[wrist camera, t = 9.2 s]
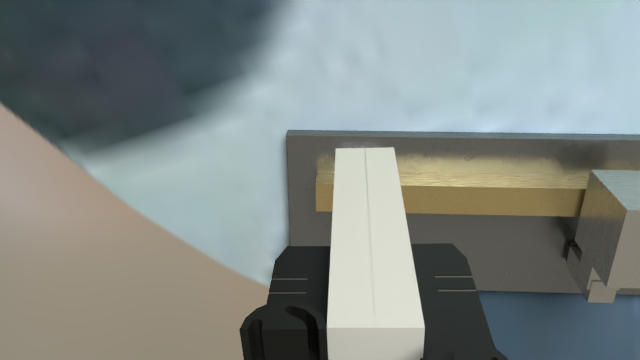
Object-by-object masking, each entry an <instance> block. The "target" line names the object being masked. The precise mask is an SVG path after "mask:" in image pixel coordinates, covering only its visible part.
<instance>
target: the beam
mask: <svg viewBox="0 0 640 360" xmlns="http://www.w3.org/2000/svg"><path fill="white" fill-rule="evenodd" d="M334 173H335V171H317V178H316V211H327V212H333V193H334ZM398 174H399V180H400V185H401V191H402V197H403V203H404V209H405V213H423V214H470V215H518V216H566V217H580V214H581V209H582V205H583V201H584V196H585V192H586V187H587V183H588V179H589V175H541V174H483V173H424V172H398Z"/></svg>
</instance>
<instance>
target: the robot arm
mask: <svg viewBox="0 0 640 360" xmlns="http://www.w3.org/2000/svg"><path fill="white" fill-rule="evenodd" d="M240 335H241V342H242V349H243V356H244V360H508V359H507V358H506V357H505V356H504V355H503V354H502V353H500V352H499V351H498V350H497V349H496V347H495V345H494V343H493V340H492V337H491V333H490V330H489V327H488V324H487V321H486V318H485V314H484V311H483V308H482V305H481V302H480V299H479V295H478V292H476V286H475V283H474V280H473V278H472V273H471V270H470V267H469V264H468V261H467V258H466V257H465V256H464V255H463V254H462V253H461V252H460V251H459V250H458V249H457V248H456V247H455V246H454V245H453V244H452V243H436V244H410V238H409V232H408V226H407V220H406V214H405V209H404V203H403V197H402V191H401V185H400V180H399V174H398V168H397V162H396V156H395V150H394V147H388V148H336V153H335V173H334V193H333V213H332V233H331V246H287V247H286V249H285V250H284V251H283V252H282V253H281V254H280V256H279V257H278V258H277V259H276V260H275V264H274V269H273V274H272V281H271V284H270V289H269V295H268V300H267V305H264V306H262V307H259V308H257V309H256V310H254V311H253V312H252V313H251V314H250V315H249V316H247V317H246V318H245V320H244V322H243V324H242V326H241V328H240Z"/></svg>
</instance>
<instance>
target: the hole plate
mask: <svg viewBox="0 0 640 360" xmlns="http://www.w3.org/2000/svg"><path fill="white" fill-rule="evenodd" d="M388 147H394V150H395V156H396V162H397V168H398V172H424V173H483V174H541V175H589V174H590V170H640V135H625V134H550V133H474V132H399V131H323V130H288V133H287V159H288V187H289V216H290V244H291V246H331V233H332V213H333V212H327V211H316V178H317V171H335V153H336V148H388ZM405 214H406V220H407V226H408V232H409V238H410V244H436V243H452V244H453V245H454V246H455V247H456V248H457V249H458V250H459V251H460V252H461V253H462V254H463V255H464V256H465V257H466V258H467V261H468V264H469V267H470V270H471V273H472V278H473V280H474V283H475V286H476V290H481V291H516V292H552V293H582V292H581V291H580V289H579V287H578V285H577V284H576V282H575V280H574V279H573V277H572V275H571V274H570V272H569V270H568V269H567V267H566V263H567V258H568V254H569V249H570V247H579V246H578V245H577V243H576V242H575V236H576V231H577V227H578V222H579V218H580V217H566V216H518V215H470V214H423V213H405ZM616 294H624V295H640V288H620V289H619V290H617V291H616Z"/></svg>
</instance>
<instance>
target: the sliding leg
mask: <svg viewBox="0 0 640 360" xmlns="http://www.w3.org/2000/svg"><path fill="white" fill-rule="evenodd" d="M575 242H576V243H577V245H578V246H579V247H570V249H569V254H568V258H567V263H566V267H567V269H568V270H569V272H570V274H571V275H572V277H573V279H574V280H575V282H576V284H577V285H578V287H579V289H580V291H581V292H582V294H583V296H584V297H585V299H586V301H587V302H599V303H613V302H614V298H615V295H616V291H617V290H619V289H620V288H640V170H590V174H589V179H588V183H587V187H586V192H585V196H584V201H583V205H582V209H581V214H580V218H579V222H578V227H577V231H576V236H575Z"/></svg>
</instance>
